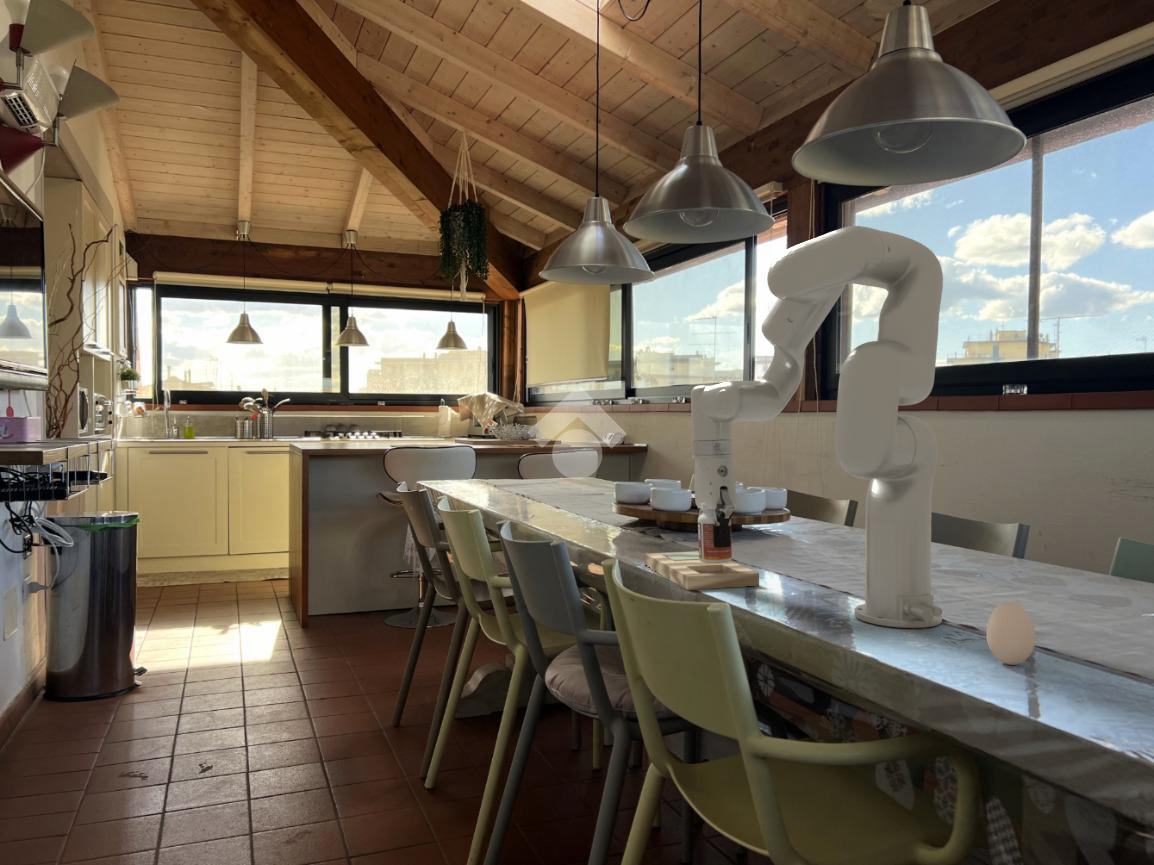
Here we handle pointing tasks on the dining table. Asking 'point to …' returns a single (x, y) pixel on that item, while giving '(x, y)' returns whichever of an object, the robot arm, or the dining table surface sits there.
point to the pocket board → (700, 571)
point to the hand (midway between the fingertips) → (715, 544)
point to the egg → (1010, 633)
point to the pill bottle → (710, 540)
